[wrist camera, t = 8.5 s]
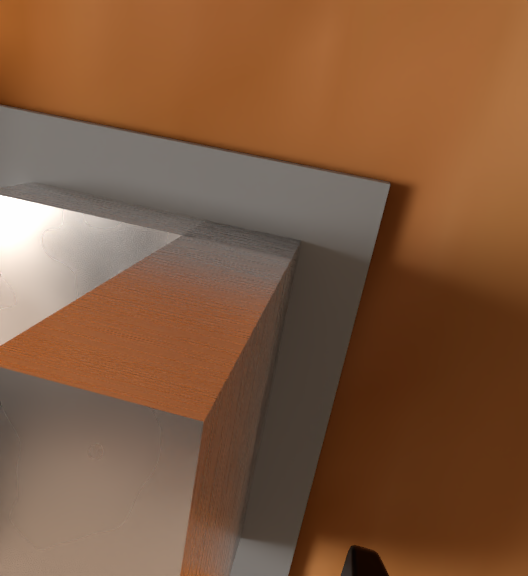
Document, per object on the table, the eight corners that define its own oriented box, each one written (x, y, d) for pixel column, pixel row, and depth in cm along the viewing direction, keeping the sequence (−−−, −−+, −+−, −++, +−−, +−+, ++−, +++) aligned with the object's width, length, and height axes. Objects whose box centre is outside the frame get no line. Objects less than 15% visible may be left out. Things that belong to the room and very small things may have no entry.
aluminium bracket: (240, 537, 13) (127, 916, 7) (29, 475, 13) (-248, 764, 7) (301, 240, 10) (204, 421, 4) (31, 182, 11) (-407, 257, 5)
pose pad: (389, 181, 10) (390, 184, 9) (284, 584, 13) (282, 597, 13) (-22, 99, 11) (-36, 99, 10) (-12, 493, 14) (-23, 502, 14)
